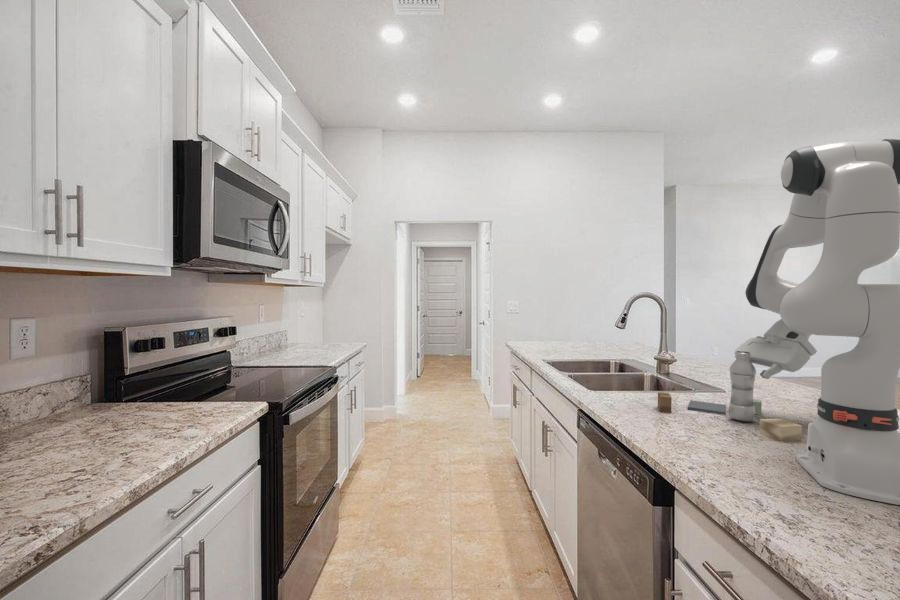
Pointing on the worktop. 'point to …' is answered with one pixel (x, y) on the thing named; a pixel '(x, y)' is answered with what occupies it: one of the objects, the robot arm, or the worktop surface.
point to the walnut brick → (664, 402)
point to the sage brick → (757, 406)
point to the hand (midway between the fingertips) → (750, 373)
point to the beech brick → (780, 429)
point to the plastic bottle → (742, 387)
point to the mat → (707, 407)
